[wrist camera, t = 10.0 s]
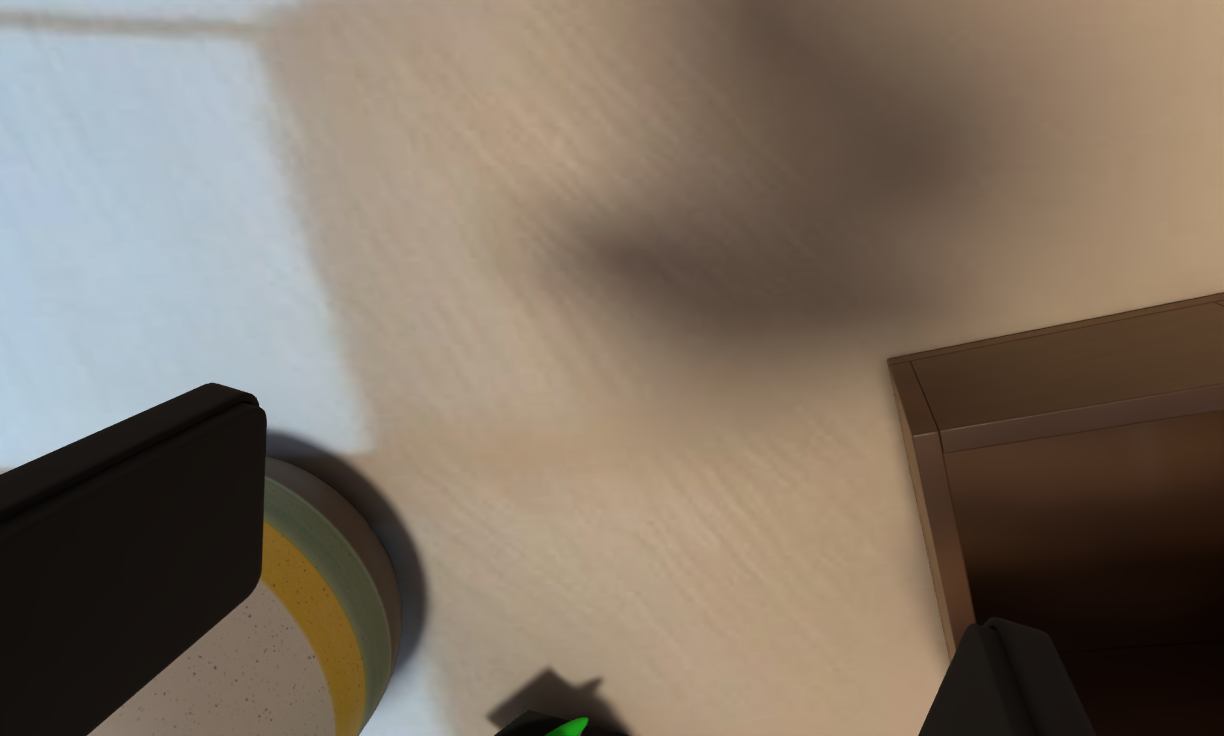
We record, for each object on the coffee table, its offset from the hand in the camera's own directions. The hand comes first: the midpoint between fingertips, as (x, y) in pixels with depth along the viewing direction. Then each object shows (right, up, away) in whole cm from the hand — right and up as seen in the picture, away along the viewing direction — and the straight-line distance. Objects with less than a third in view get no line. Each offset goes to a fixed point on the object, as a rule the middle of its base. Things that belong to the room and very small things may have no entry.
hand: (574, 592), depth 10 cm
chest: (+19, -2, +20) cm, 28 cm away
